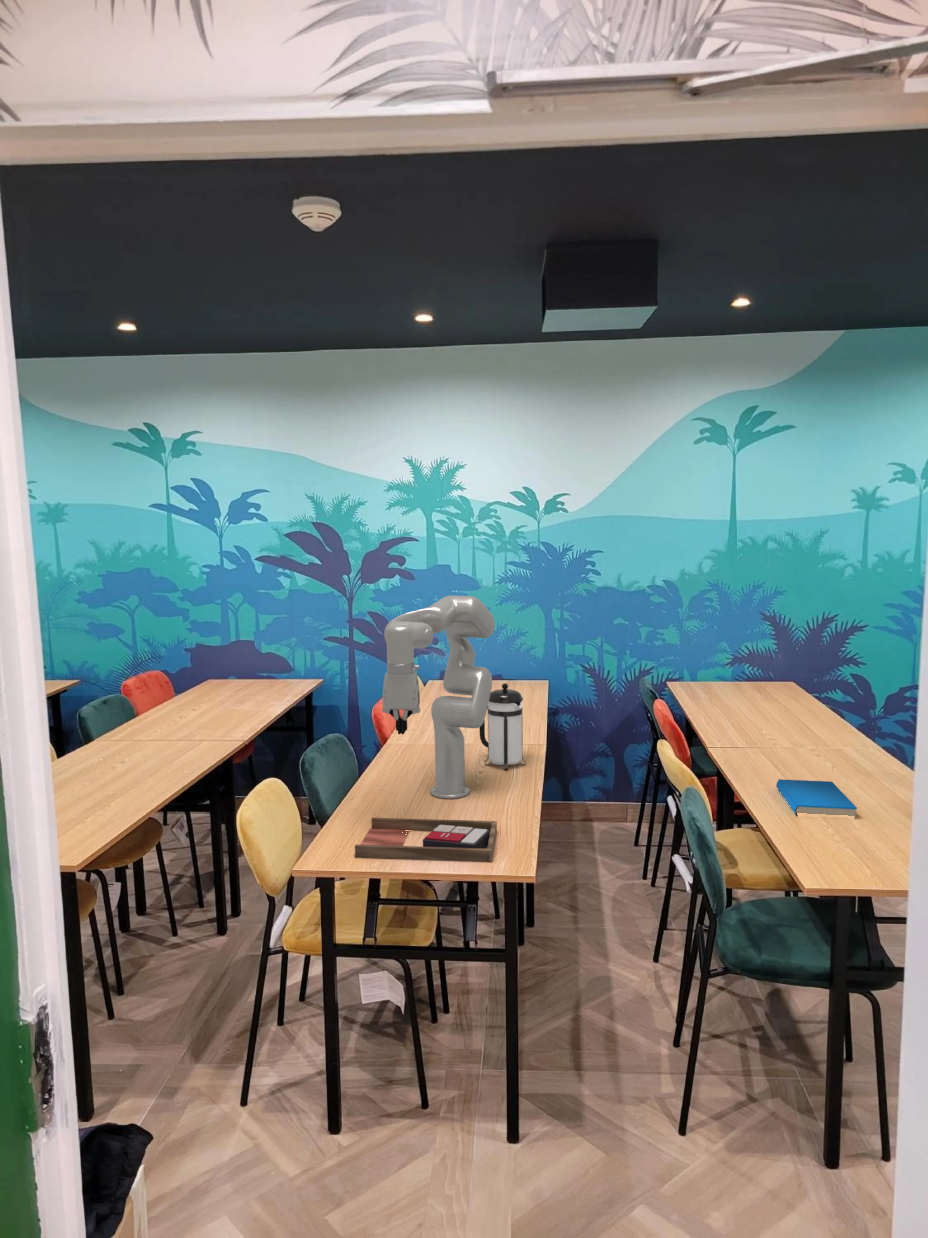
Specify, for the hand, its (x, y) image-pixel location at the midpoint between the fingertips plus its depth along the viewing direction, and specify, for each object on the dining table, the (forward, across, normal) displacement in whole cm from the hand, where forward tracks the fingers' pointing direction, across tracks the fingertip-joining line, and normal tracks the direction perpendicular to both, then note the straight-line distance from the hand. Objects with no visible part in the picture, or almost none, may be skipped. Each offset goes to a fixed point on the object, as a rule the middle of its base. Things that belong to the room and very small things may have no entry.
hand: (401, 733), depth 224 cm
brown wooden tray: (+27, -9, +13) cm, 31 cm away
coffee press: (+27, -25, -63) cm, 73 cm away
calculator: (+27, -17, +15) cm, 35 cm away
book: (+28, -123, -28) cm, 129 cm away
